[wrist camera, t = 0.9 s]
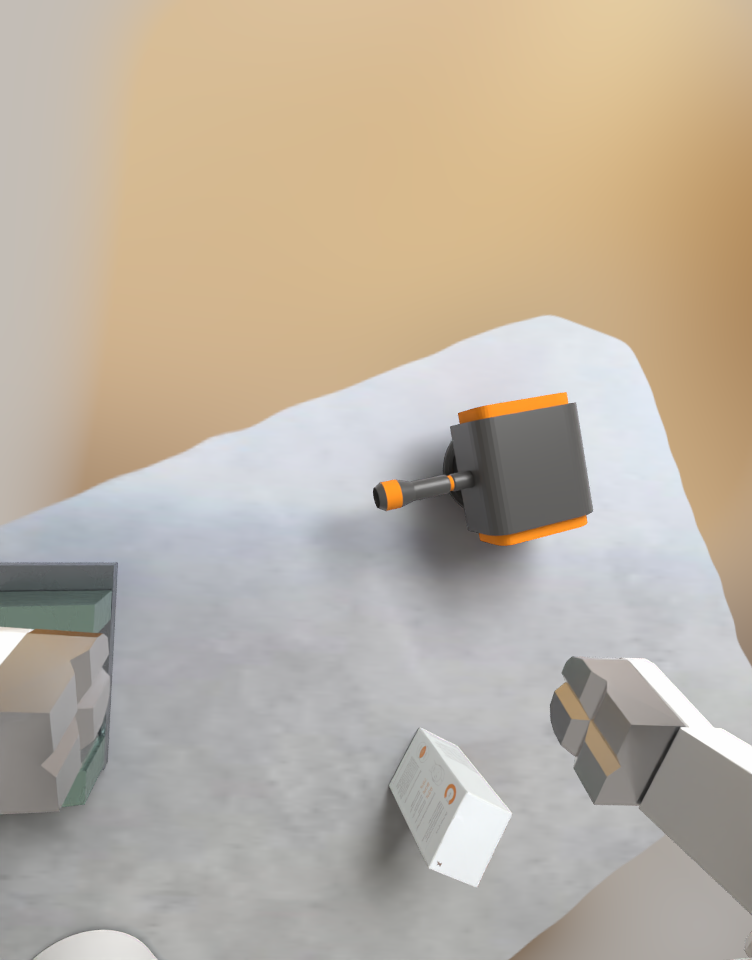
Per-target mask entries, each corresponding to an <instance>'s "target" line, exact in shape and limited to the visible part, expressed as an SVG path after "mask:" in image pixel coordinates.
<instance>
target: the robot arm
mask: <svg viewBox="0 0 752 960" xmlns="http://www.w3.org/2000/svg"><path fill="white" fill-rule="evenodd" d="M108 655H109V648H108V637H107V636H106V635H104V634H103V633H89V632H75V631H61V630H47V629H35V630H34V629H24V628H10V627H0V814H17V813H41V812H59V811H60V809H61V807H62V805H63V803H64V801H65V799H66V797H67V795H68V793H69V791H70V788H71V786H72V784H73V782H74V780H75V778H76V776H77V774H78V772H79V770H80V768H81V755H80V750H81V749H83V748H84V747H86V746H87V745H88V744H90V743H91V742H92V741H94V740H95V737H96V735H97V733H98V731H99V729H100V727H101V725H102V722H103V719H104V715H105V712H106V709H107V705H108V700H109V692H110V676H109V675H108V674H107V673H106V672H105V671H104V669H103V668H102V666H103V664H104V662H105V660H106V659H107V657H108ZM562 675H563V677H564V680H565V683H564V684H563V685H561V686H560V687H559V688H558V689H557V690H555V692H554V695H553V698H552V701H551V704H550V717H551V723H552V727H553V730H554V733H555V735H556V737H557V739H558V741H559V743H560V744H561V746H562V747H564V748H565V749H566V750H567V751H569V752H570V753H571V754H572V755H574V756H575V760H574V770H575V772H576V773H577V775H578V777H579V779H580V781H581V782H582V784H583V786H584V788H585V790H586V791H587V793H588V795H589V797H590V798H591V800H592V802H593V804H594V805H633V806H639V809H640V810H641V811H642V812H643V813H644V814H645V815H646V816H647V817H648V818H649V819H650V820H651V821H652V822H654V823H655V824H656V825H657V826H658V827H659V828H660V829H661V830H662V831H663V832H664V833H665V834H666V835H667V836H668V837H670V839H672V840H673V841H674V842H675V843H676V844H677V845H678V846H679V847H680V848H681V849H682V850H683V851H684V852H685V853H686V854H687V855H688V856H690V857H691V858H692V859H693V860H694V861H695V862H696V863H697V864H698V865H699V866H700V867H701V868H702V869H703V870H704V871H705V872H706V873H708V874H709V875H710V876H711V877H712V878H713V879H714V880H715V881H716V882H717V883H718V884H719V885H720V886H721V887H722V888H724V890H726V891H727V892H728V893H729V894H730V895H731V896H732V897H733V898H734V899H735V900H736V901H737V902H738V903H739V904H740V905H741V906H743V907H744V908H745V909H746V910H747V911H748V912H749V913H750V914H751V915H752V746H750V745H749V744H747V743H745V742H744V741H742V740H740V739H739V738H737V737H735V736H734V735H732V734H730V733H729V732H727V731H725V730H724V729H722V728H714V727H713V726H712V725H711V724H710V723H709V722H708V721H707V720H706V719H705V718H704V717H703V715H702V714H701V713H700V712H699V711H698V710H697V709H696V708H695V707H694V706H693V705H692V704H691V703H690V702H689V700H688V699H687V698H686V697H685V696H684V695H683V694H682V693H681V692H680V691H679V690H678V689H677V688H676V687H675V686H674V684H673V683H672V682H671V681H670V680H669V679H668V678H667V677H666V676H665V675H664V674H663V673H662V672H661V671H660V669H659V668H658V667H657V666H656V665H655V664H654V663H652V662H650V661H648V660H647V659H645V658H619V659H618V658H600V657H575V656H572V657H571V658H570V659H569V660H568V661H567V662H566V663H565V666H564V668H563V671H562ZM744 951H745V952H746V954H747V956H748V957H749V958H744V959H732V960H752V931H751V933H750V934H749V936H748V937H747V938H746V940H745V950H744ZM33 960H158V959H157V958H156V957H155V956H154V955H153V954H152V952H151V951H150V950H149V949H148V948H147V946H146V945H145V944H143V943H142V942H141V941H140V940H138V939H137V938H135V937H133V936H131V935H129V934H126V933H123V932H119V931H113V930H93V931H87V932H82V933H79V934H75V935H72V936H70V937H67V938H65V939H63V940H60V941H58V942H57V943H55V944H53V945H51V946H50V947H48V948H47V949H45V950H44V951H43V952H41V953H40V954H39V955H37V956H36V957H35V958H34V959H33Z"/></svg>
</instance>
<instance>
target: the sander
mask: <svg viewBox="0 0 752 960" xmlns="http://www.w3.org/2000/svg"><path fill="white" fill-rule="evenodd" d="M458 416H459V422H460V424H458V425H454V426H450V429H451V435H452V441H451V443H450V445H449V447H448V449H447V451H446V454H445V458H444V465H443V472H444V475H440V476H435V477H430V478H425V479H421V480H416V481H411V482H409V481H402V480H390V481H385V482H380V483H379V484H378V485H377V486H376V487H375V488H374V489H373V496H374V501H375V504H376V506H377V508H379V509H382V510H384V511H387V510H392V509H397V508H401V507H403V506H405V505H407V504H409V503H411V502H413V501H416V500H421V499H425V498H430V497H435V496H439V495H444V494H448V493H450V494H451V496H452V497H453V498H454V500H455V501H456V502H457V503H458V504H459V505H460V506H462V507H463V508H464V509H465V515H466V520H467V526H468V531H473V532H477V533H479V537H480V541H484V542H487V543H491V544H495V545H500V546H507V545H514V544H517V543H521V542H525V541H529V540H533V539H537V538H540V537H544V536H548V535H552V534H556V533H560V532H563V531H567V530H571V529H575V528H579V527H582V526H584V525H586V524H587V517H586V515H588V514H590V513H592V512H593V506H592V500H591V494H590V487H589V481H588V475H587V469H586V462H585V456H584V450H583V444H582V437H581V431H580V425H579V418H578V412H577V406H576V403H569V404H568V398H567V393H566V392H565V393H557V394H551V395H545V396H539V397H534V398H528V399H522V400H516V401H510V402H504V403H498V404H492V405H487V406H482V407H477V408H474V409H470V410H467V411H463V412H460V413H458Z"/></svg>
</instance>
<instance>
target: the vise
mask: <svg viewBox="0 0 752 960" xmlns="http://www.w3.org/2000/svg"><path fill="white" fill-rule="evenodd" d="M117 568H118V563H0V592H26V591H98V590H112V599H111V619H110V621H109V622H108V623H107V624H106V625H105V626H104V627H103V628H102V629H101V630H100V631H99V632H98V633H103V634H104V635H106V636H107V637H108V648H109V655H108V657H107V659H106V660H105V662H104V664H103V666H102V668H103V669H104V671H105V672H106V673H107V674H108V675H109V676H110V692H109V700H108V705H107V709H106V712H105V715H104V719H103V722H102V725H101V727H100V729H99V731H98V733H97V735H96V737H95V740H94V741H92V742H91V743H90V744H88V745H87V746H86V747H84V748H83V749H81V750H80V755H81V768H80V770H79V772H78V774H77V776H76V778H75V780H74V782H73V784H72V786H71V788H70V791H69V793H68V795H67V797H66V799H65V801H64V803H63V805H62V807H67V806H76V805H84V804H85V802H86V800H87V798H88V796H89V794H90V792H91V790H92V788H93V786H94V784H95V782H96V780H97V778H98V776H99V774H100V772H101V770H104V768H105V766H106V764H107V762H108V744H109V724H110V705H111V685H112V666H113V646H114V627H115V607H116V588H117ZM0 815H2V814H0Z"/></svg>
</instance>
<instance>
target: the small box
mask: <svg viewBox="0 0 752 960" xmlns="http://www.w3.org/2000/svg"><path fill="white" fill-rule="evenodd" d="M389 787H390V789H391V791H392V793H393V795H394V797H395V799H396V802H397V804H398V806H399V808H400V810H401V812H402V814H403V816H404V818H405V820H406V822H407V825H408V827H409V829H410V831H411V833H412V835H413V837H414V839H415V841H416V843H417V846H418V848H419V850H420V852H421V854H422V856H423V858H424V860H425V862H426V864H427V867H428V868H429V869H431V870H434V871H437V872H439V873H441V874H444V875H446V876H449V877H451V878H453V879H456V880H458V881H461V882H464V883H466V884H468V885H471V886H474V887H476V888H477V887H478V884H479V882H480V880H481V878H482V876H483V874H484V872H485V870H486V868H487V866H488V864H489V861H490V859H491V857H492V855H493V853H494V851H495V849H496V847H497V845H498V843H499V841H500V839H501V837H502V835H503V832H504V830H505V828H506V826H507V824H508V822H509V820H510V818H511V816H512V813H511V811H510V810H509V809H508V807H507V806H506V805H505V804H504V803H503V801H502V800H501V799H500V798H499V796H498V795H497V794H496V793H495V791H494V790H493V789H492V788H491V787H490V785H489V784H488V783H487V782H486V780H485V779H484V778H483V777H482V775H481V774H480V773H479V772H478V770H477V769H476V768H475V767H474V766H473V764H472V763H471V762H470V761H469V759H468V758H467V757H466V756H465V755H464V753H463V752H462V751H461V750H460V748H459V747H458V746H457V745H455V744H453V743H451V742H449V741H447V740H445V739H443V738H441V737H439V736H437V735H435V734H433V733H431V732H429V731H427V730H425V729H423V728H421V727H420V728H419V729H418V731H417V733H416V735H415V737H414V739H413V741H412V742H411V744H410V746H409V748H408V750H407V752H406V754H405V756H404V758H403V760H402V761H401V763H400V765H399V767H398V769H397V771H396V773H395V775H394V777H393V779H392V781H391V783H390V784H389Z"/></svg>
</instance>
